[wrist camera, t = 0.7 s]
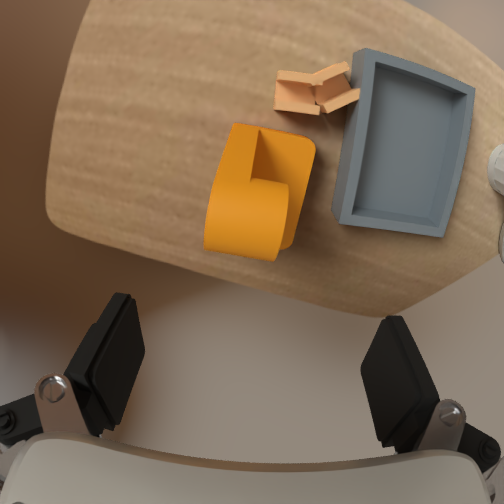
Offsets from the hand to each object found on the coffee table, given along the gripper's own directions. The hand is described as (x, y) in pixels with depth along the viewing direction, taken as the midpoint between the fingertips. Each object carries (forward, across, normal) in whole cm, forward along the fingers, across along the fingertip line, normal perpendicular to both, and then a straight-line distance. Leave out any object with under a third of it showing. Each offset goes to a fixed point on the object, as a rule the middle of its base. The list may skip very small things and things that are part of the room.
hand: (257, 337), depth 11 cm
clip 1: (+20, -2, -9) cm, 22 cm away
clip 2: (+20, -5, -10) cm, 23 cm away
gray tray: (+20, -13, -6) cm, 25 cm away
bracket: (+21, 0, 0) cm, 21 cm away
